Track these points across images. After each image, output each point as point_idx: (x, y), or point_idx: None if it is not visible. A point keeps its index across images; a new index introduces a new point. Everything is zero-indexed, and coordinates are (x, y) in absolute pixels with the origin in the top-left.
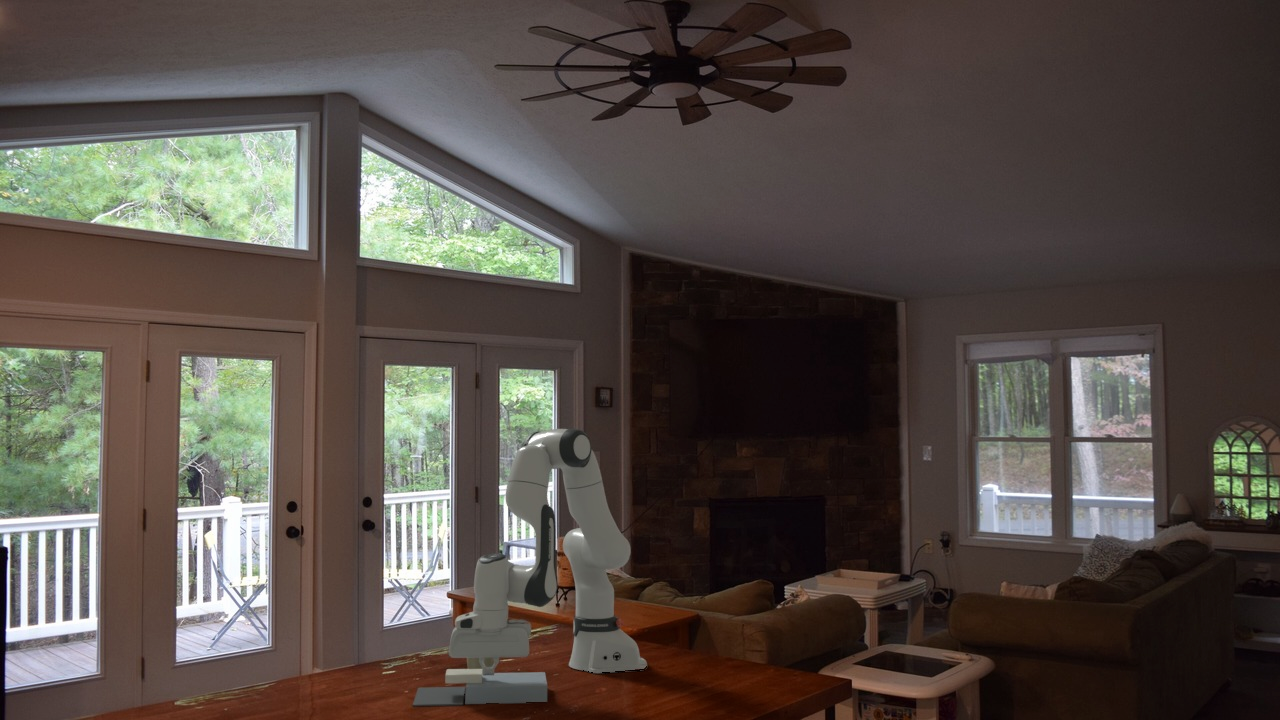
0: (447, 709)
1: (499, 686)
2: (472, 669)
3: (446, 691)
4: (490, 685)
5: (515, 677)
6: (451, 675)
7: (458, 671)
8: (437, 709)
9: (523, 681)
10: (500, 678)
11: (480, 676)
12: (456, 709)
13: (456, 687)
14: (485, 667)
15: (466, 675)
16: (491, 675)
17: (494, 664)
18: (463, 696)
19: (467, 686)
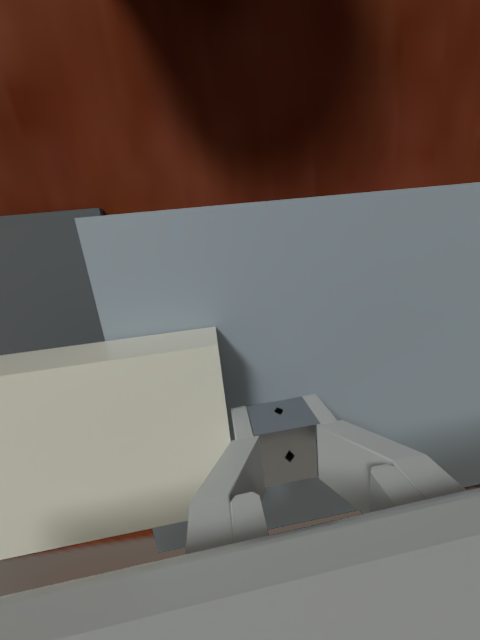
0: (117, 541)
1: (334, 509)
2: (129, 378)
3: (18, 318)
4: (287, 499)
5: (427, 323)
6: (4, 555)
7: (18, 456)
8: (77, 547)
9: (459, 405)
10: (337, 353)
11: None
12: (152, 536)
13: (47, 228)
14: (262, 466)
15: (125, 529)
16: (275, 279)
17: (357, 507)
18: None
19: (164, 534)
